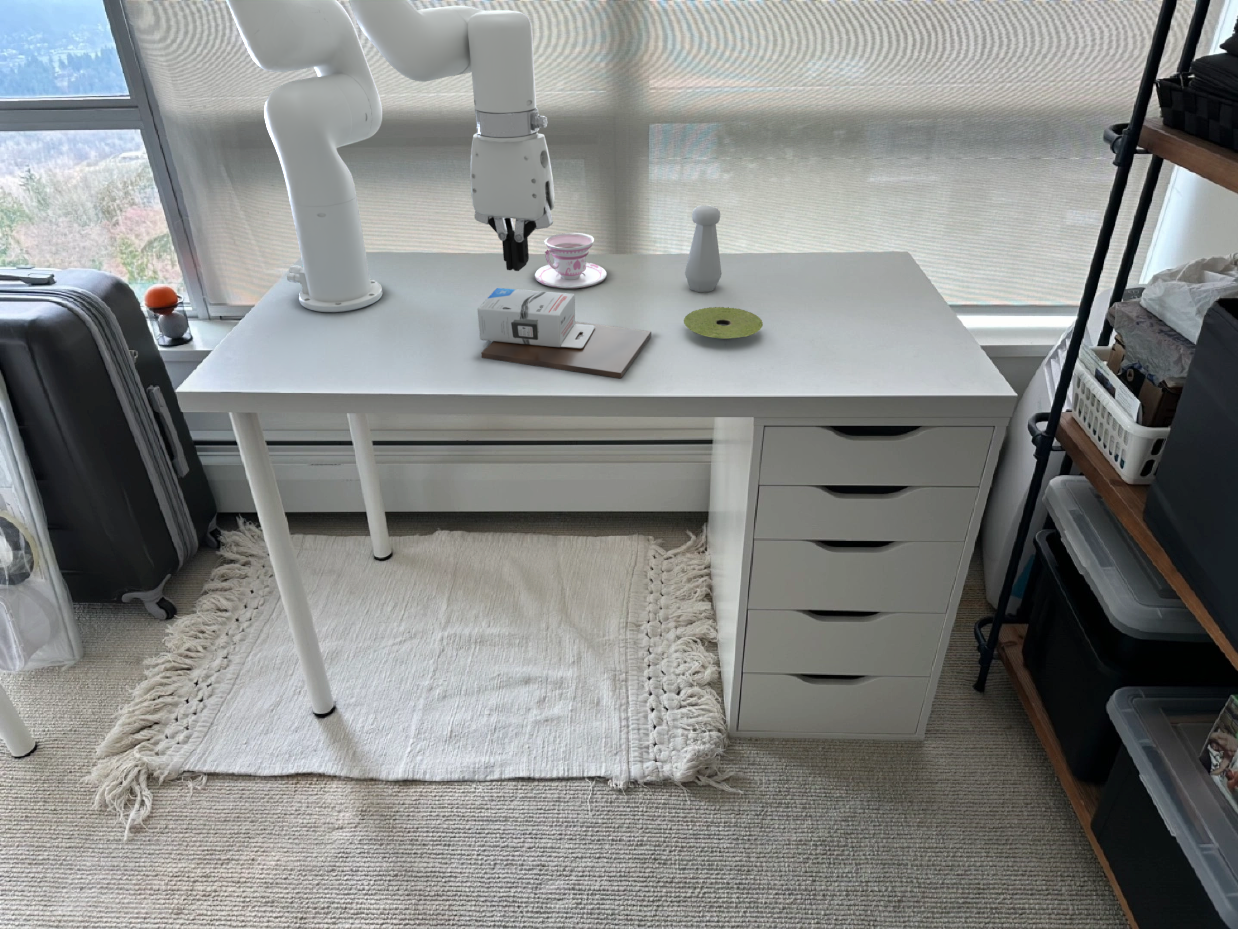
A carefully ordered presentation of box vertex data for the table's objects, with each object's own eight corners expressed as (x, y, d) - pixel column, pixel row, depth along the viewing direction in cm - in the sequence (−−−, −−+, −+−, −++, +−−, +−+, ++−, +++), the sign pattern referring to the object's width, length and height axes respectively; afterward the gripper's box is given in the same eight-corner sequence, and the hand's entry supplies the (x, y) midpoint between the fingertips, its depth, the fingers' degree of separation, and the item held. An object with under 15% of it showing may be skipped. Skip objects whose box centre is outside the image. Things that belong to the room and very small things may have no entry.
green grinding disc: (743, 356, 117) (744, 343, 116) (669, 340, 122) (670, 327, 120) (773, 327, 125) (774, 315, 124) (703, 313, 130) (703, 301, 129)
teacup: (575, 259, 150) (574, 224, 147) (621, 277, 143) (621, 241, 139) (520, 276, 143) (517, 239, 140) (565, 295, 136) (564, 257, 132)
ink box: (496, 286, 124) (596, 293, 121) (498, 318, 126) (596, 326, 124) (476, 308, 117) (581, 316, 114) (479, 341, 119) (582, 350, 117)
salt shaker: (726, 285, 140) (732, 205, 133) (710, 296, 135) (715, 214, 128) (694, 278, 142) (698, 199, 135) (677, 289, 138) (681, 208, 131)
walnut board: (481, 357, 117) (480, 352, 116) (522, 319, 128) (522, 314, 127) (621, 378, 111) (621, 372, 111) (651, 336, 123) (651, 331, 122)
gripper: (574, 121, 107) (578, 264, 117) (466, 114, 111) (479, 253, 121) (551, 133, 101) (558, 282, 111) (438, 126, 105) (454, 270, 115)
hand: (516, 267), depth 116 cm, fingers closed
